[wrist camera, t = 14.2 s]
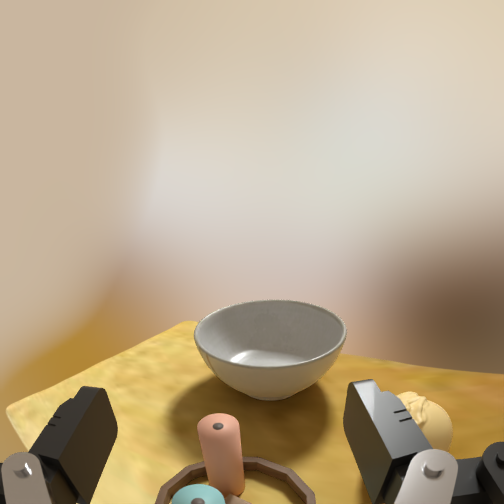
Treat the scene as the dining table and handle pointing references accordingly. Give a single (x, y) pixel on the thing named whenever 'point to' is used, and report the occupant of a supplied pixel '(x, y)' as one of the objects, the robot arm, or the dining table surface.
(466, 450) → the dining table surface
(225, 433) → the pink cylinder
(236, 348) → the decorative bowl
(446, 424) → the sculpture
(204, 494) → the teal cylinder
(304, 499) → the brown ring
